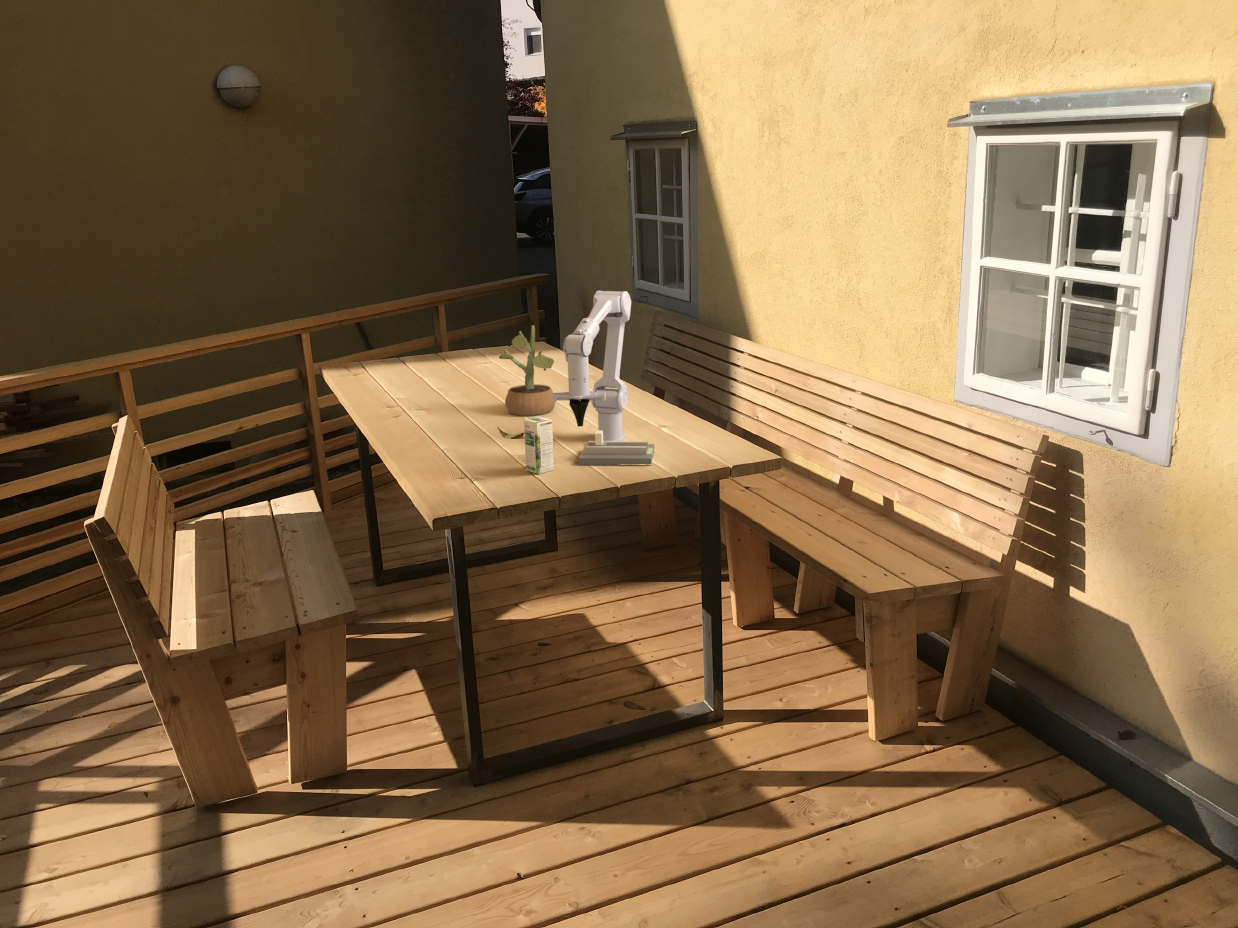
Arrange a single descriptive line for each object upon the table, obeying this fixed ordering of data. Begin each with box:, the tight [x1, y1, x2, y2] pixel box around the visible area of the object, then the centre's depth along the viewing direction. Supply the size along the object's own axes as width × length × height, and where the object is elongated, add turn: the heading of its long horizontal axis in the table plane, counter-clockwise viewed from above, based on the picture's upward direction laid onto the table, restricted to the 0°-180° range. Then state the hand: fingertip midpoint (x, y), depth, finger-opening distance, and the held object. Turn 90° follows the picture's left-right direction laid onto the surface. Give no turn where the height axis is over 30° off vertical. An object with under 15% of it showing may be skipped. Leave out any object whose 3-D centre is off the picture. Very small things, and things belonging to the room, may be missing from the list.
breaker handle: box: [592, 429, 607, 446], centre depth 277 cm, size 3×4×5 cm
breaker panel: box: [578, 440, 655, 466], centre depth 277 cm, size 14×20×4 cm
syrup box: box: [523, 415, 555, 475], centre depth 267 cm, size 6×6×14 cm
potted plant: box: [498, 325, 557, 417], centre depth 326 cm, size 22×18×30 cm
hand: (580, 425), depth 276 cm, fingers closed
